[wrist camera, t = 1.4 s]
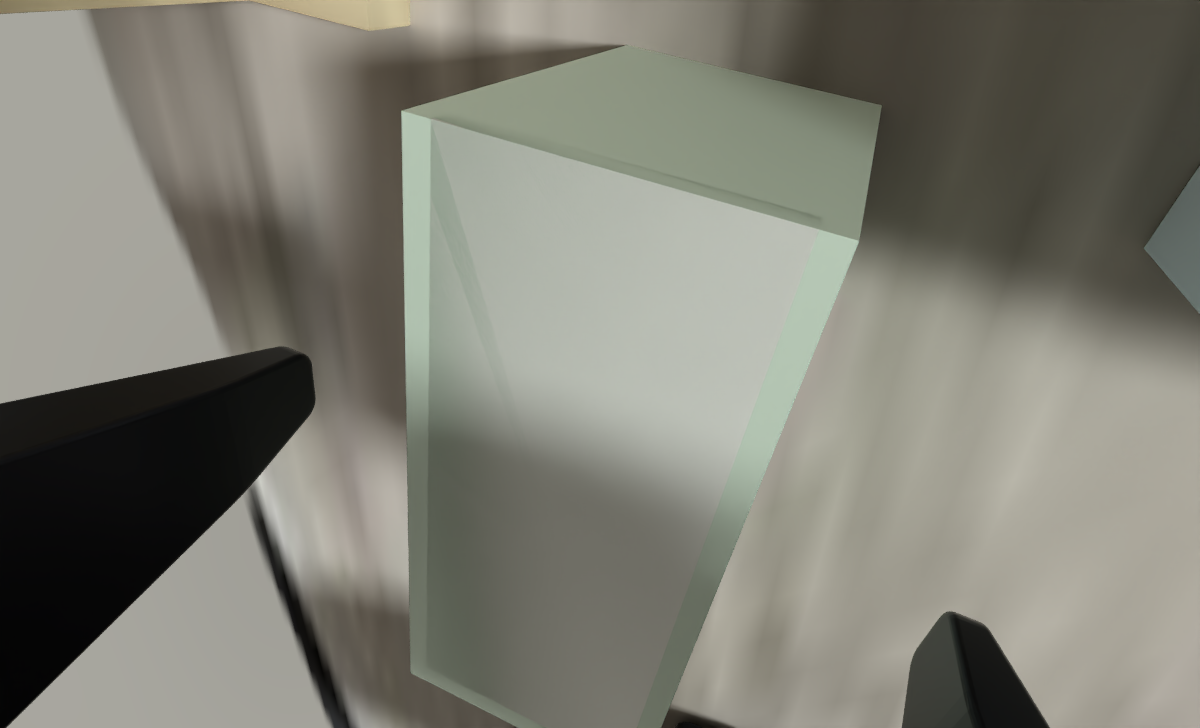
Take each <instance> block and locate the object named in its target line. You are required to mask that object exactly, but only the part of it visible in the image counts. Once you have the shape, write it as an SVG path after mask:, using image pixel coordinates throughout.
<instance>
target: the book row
mask: <svg viewBox="0 0 1200 728" xmlns="http://www.w3.org/2000/svg"><path fill="white" fill-rule="evenodd" d="M1144 249H1145V250H1146V252H1147V253H1148V254H1149V255H1150V256H1151V257H1152V259H1153V260H1154V261H1155V262H1156V263H1157V264H1158V266H1159V267H1160V268H1161V269H1162V270H1163V272H1164V273H1165V274H1166V275H1167V276H1168V277H1169V279H1170V280H1171V281H1172V282H1173V283H1174V285H1175V286H1176V287H1177V288H1178V289H1179V290H1180V292H1181V293H1182V294H1183V295H1184V296H1185V298H1186V299H1187V300H1188V301H1189V302H1190V303H1191V305H1192V306H1193V307H1194V308H1195V309H1196V311H1197V312H1198V313H1199V314H1200V166H1199V167H1198V169H1197V170H1196V172H1195V173H1194V175H1193V176H1192V178H1191V179H1190V181H1189V182H1188V183H1187V185H1186V186H1185V188H1184V189H1183V191H1182V192H1181V194H1180V195H1179V197H1178V198H1177V200H1176V201H1175V203H1174V204H1173V206H1172V207H1171V209H1170V210H1169V212H1168V213H1167V215H1166V216H1165V218H1164V219H1163V221H1162V222H1161V224H1160V225H1159V226H1158V228H1157V229H1156V231H1155V232H1154V234H1153V235H1152V237H1151V238H1150V240H1149V241H1148V243H1147V244H1146V246H1145V247H1144Z"/></svg>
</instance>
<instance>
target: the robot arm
mask: <svg viewBox="0 0 1200 728" xmlns="http://www.w3.org/2000/svg"><path fill="white" fill-rule="evenodd" d="M314 405H315V389H314V380H313V371H312V363H311V360H310V359H309V357H308V356H307V355H305V354H303V353H301V352H298V351H296V350H293V349H291V348H288V347H275V348H270V349H265V350H260V351H255V352H250V353H245V354H241V355H236V356H231V357H226V358H221V359H216V360H211V361H206V362H201V363H197V364H192V365H187V366H182V367H177V368H173V369H168V370H162V371H158V372H153V373H148V374H143V375H138V376H133V377H128V378H123V379H118V380H113V381H109V382H104V383H99V384H94V385H90V386H84V387H79V388H75V389H70V390H65V391H60V392H55V393H50V394H45V395H40V396H35V397H30V398H26V399H21V400H16V401H11V402H6V403H1V404H0V728H6V727H7V726H9V725H10V724H11V723H12V721H14V719H16V718H17V717H18V716H19V715H20V714H21V713H22V712H23V711H24V710H25V709H26V708H27V707H28V706H29V705H30V704H31V703H32V702H33V701H34V700H35V699H36V698H37V697H38V696H39V695H40V694H41V693H42V692H43V691H44V690H45V689H46V688H47V687H48V686H49V685H50V684H51V683H52V682H53V681H54V680H55V679H56V678H57V677H58V676H59V675H60V674H61V673H62V672H63V671H64V670H65V669H66V668H67V667H68V666H69V665H70V664H71V663H72V662H74V660H75V659H76V658H78V657H79V656H80V655H81V654H82V653H83V652H84V651H85V650H86V649H87V648H88V647H89V646H90V645H91V644H92V643H93V642H94V641H95V640H96V639H97V638H98V637H99V636H100V635H101V634H102V633H103V632H104V631H105V630H106V629H107V628H108V627H109V626H110V625H111V624H112V623H113V622H114V621H115V620H116V619H117V618H118V617H119V616H120V615H121V614H122V613H123V612H124V611H125V610H126V609H127V608H128V607H129V606H130V605H131V604H132V603H133V602H134V601H135V600H136V599H137V598H138V597H139V596H140V595H142V594H143V593H144V591H146V590H147V589H148V588H149V587H150V586H151V585H152V584H153V583H154V582H155V581H156V580H157V579H158V578H159V577H160V576H161V575H162V574H163V573H164V572H165V571H166V570H167V569H168V568H169V567H170V566H171V565H172V564H173V563H174V562H175V561H176V560H177V559H178V558H179V557H180V556H181V555H182V554H183V553H184V552H185V551H186V550H187V549H188V548H189V547H190V546H191V545H192V544H193V543H194V542H195V541H196V540H197V539H198V538H199V537H200V536H201V535H202V534H203V533H204V532H205V531H206V530H207V529H209V528H210V527H211V526H212V524H214V523H215V521H217V520H218V519H219V518H220V517H221V516H222V515H223V514H224V513H225V512H226V511H227V510H228V509H229V508H230V507H231V506H232V505H233V504H234V503H235V502H236V501H237V500H238V499H239V498H240V497H241V496H242V495H243V494H244V493H245V491H246V490H247V489H248V488H249V487H250V486H251V485H252V483H253V482H254V481H255V480H256V479H257V478H258V477H259V475H260V474H261V473H262V472H263V471H264V469H265V468H266V467H267V466H268V465H269V463H270V462H271V461H272V460H273V459H274V457H275V456H276V455H277V454H278V453H279V451H280V450H281V449H282V448H283V447H284V445H285V444H286V443H287V442H288V441H289V439H290V438H291V437H292V436H293V435H294V433H295V432H296V431H297V430H298V429H299V427H300V426H301V425H302V424H303V423H304V421H305V420H306V419H307V418H308V417H309V415H310V414H311V412H312V410H313V408H314ZM675 728H702V727H700V726H698V725H695V724H692V723H688V722H682V723H678V724H677V725H676V727H675ZM902 728H1050V727H1049V725H1048V724H1047V722H1046V721H1045V719H1044V717H1043V716H1042V714H1041V712H1040V711H1039V709H1038V708H1037V706H1036V704H1035V703H1034V701H1033V700H1032V698H1031V696H1030V695H1029V693H1028V691H1027V690H1026V688H1025V687H1024V685H1023V683H1022V682H1021V680H1020V679H1019V677H1018V675H1017V674H1016V672H1015V670H1014V669H1013V667H1012V666H1011V664H1010V662H1009V661H1008V659H1007V658H1006V656H1005V654H1004V653H1003V651H1002V649H1001V648H1000V646H999V645H998V643H997V641H996V640H995V638H994V637H993V635H992V633H991V632H990V630H989V629H988V628H987V627H986V626H985V625H984V624H982V623H981V622H978V621H976V620H973V619H971V618H968V617H966V616H963V615H961V614H958V613H956V612H951V611H949V612H946V613H944V614H943V615H942V616H941V617H940V618H939V619H938V621H937V622H936V623H935V625H934V626H933V627H932V629H931V630H930V632H929V633H928V634H927V636H926V637H925V638H924V640H923V641H922V642H921V644H920V645H919V647H918V648H917V649H916V651H915V653H914V656H913V658H912V662H911V666H910V672H909V679H908V686H907V694H906V701H905V708H904V716H903V723H902Z"/></svg>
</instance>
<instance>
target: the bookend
mask: <svg viewBox="0 0 1200 728" xmlns="http://www.w3.org/2000/svg"><path fill="white" fill-rule="evenodd" d="M228 1H246V0H0V14H7V13H24V12H44V11H62V10H81V9H99V8H117V7H136V6H154V5H173V4H191V3H210V2H228ZM250 1H254V2H257V3H261V4H265V5H269V6H273V7H277V8H281V9H285V10H289V11H293V12H297V13H301V14H305V15H308V16H312V17H316V18H320V19H324V20H328V21H332V22H336V23H340V24H344V25H348V26H352V27H356V28H359V29H363V30H367V31H372V30H380V29H388V28H396V27H404V26H410V0H250Z"/></svg>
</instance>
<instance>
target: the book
mask: <svg viewBox="0 0 1200 728" xmlns="http://www.w3.org/2000/svg"><path fill="white" fill-rule="evenodd" d="M881 108H882V105H878V104H874V103H870V102H865V101H861V100H857V99H853V98H849V97H844V96H840V95H836V94H832V93H827V92H823V91H819V90H815V89H810V88H806V87H802V86H798V85H794V84H789V83H785V82H781V81H777V80H772V79H768V78H764V77H760V76H756V75H751V74H747V73H743V72H739V71H734V70H730V69H726V68H722V67H718V66H713V65H709V64H705V63H701V62H696V61H692V60H688V59H684V58H679V57H675V56H671V55H667V54H663V53H658V52H654V51H650V50H646V49H641V48H637V47H633V46H629V45H626V46H622V47H619V48H615V49H612V50H608V51H605V52H601V53H598V54H595V55H591V56H588V57H584V58H581V59H577V60H574V61H570V62H567V63H564V64H560V65H557V66H553V67H550V68H546V69H543V70H540V71H536V72H533V73H529V74H526V75H522V76H519V77H515V78H512V79H509V80H505V81H502V82H498V83H495V84H491V85H488V86H484V87H481V88H478V89H474V90H471V91H467V92H464V93H460V94H457V95H453V96H450V97H447V98H443V99H440V100H436V101H433V102H429V103H426V104H422V105H419V106H416V107H412V108H409V109H405V110H402V111H401V118H402V179H403V240H404V302H405V363H406V424H407V486H408V547H409V608H410V670H411V673H412V674H414V675H415V676H417V677H419V678H421V679H423V680H425V681H427V682H429V683H431V684H433V685H435V686H437V687H439V688H441V689H443V690H445V691H447V692H449V693H451V694H453V695H455V696H457V697H459V698H461V699H463V700H465V701H467V702H469V703H470V704H472V705H474V706H476V707H478V708H480V709H482V710H484V711H486V712H488V713H490V714H492V715H494V716H496V717H498V718H500V719H502V720H504V721H506V722H508V723H510V724H512V725H514V726H516V727H518V728H661V727H662V724H663V722H664V719H665V717H666V714H667V712H668V709H669V707H670V704H671V702H672V700H673V697H674V695H675V692H676V690H677V687H678V685H679V682H680V680H681V677H682V675H683V673H684V670H685V668H686V665H687V663H688V660H689V658H690V655H691V653H692V650H693V648H694V646H695V643H696V641H697V638H698V636H699V633H700V631H701V628H702V626H703V623H704V621H705V619H706V616H707V614H708V611H709V609H710V606H711V604H712V601H713V599H714V596H715V594H716V592H717V589H718V587H719V584H720V582H721V579H722V577H723V574H724V572H725V569H726V567H727V565H728V562H729V560H730V557H731V555H732V552H733V550H734V547H735V545H736V542H737V540H738V538H739V535H740V533H741V530H742V528H743V525H744V523H745V520H746V518H747V515H748V513H749V510H750V508H751V506H752V503H753V501H754V498H755V496H756V493H757V491H758V488H759V486H760V483H761V481H762V479H763V476H764V474H765V471H766V469H767V466H768V464H769V461H770V459H771V456H772V454H773V452H774V449H775V447H776V444H777V442H778V439H779V437H780V434H781V432H782V429H783V427H784V425H785V422H786V420H787V417H788V415H789V412H790V410H791V407H792V405H793V402H794V400H795V398H796V395H797V393H798V390H799V388H800V385H801V383H802V380H803V378H804V375H805V373H806V371H807V368H808V366H809V363H810V361H811V358H812V356H813V353H814V351H815V348H816V346H817V344H818V341H819V339H820V336H821V334H822V331H823V329H824V326H825V324H826V321H827V319H828V316H829V314H830V312H831V309H832V307H833V304H834V302H835V299H836V297H837V294H838V292H839V289H840V287H841V285H842V282H843V280H844V277H845V275H846V272H847V270H848V267H849V265H850V262H851V260H852V258H853V255H854V253H855V250H856V248H857V245H858V243H859V239H860V233H861V227H862V221H863V215H864V210H865V204H866V198H867V192H868V186H869V180H870V174H871V168H872V162H873V156H874V150H875V144H876V138H877V132H878V126H879V120H880V114H881Z"/></svg>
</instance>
